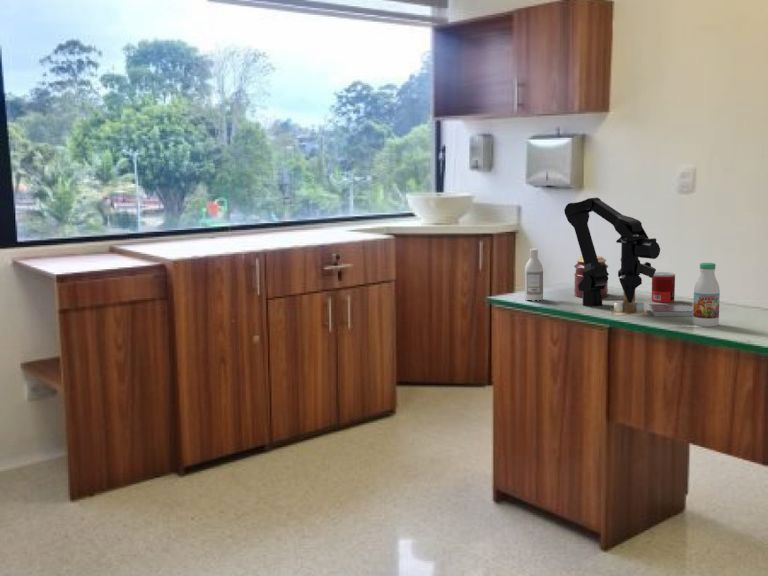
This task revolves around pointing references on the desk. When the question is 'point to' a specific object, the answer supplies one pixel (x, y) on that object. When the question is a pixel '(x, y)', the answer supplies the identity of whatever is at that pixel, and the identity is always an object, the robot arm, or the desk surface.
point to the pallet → (628, 307)
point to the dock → (671, 309)
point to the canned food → (663, 287)
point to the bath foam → (534, 277)
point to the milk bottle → (706, 297)
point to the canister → (579, 278)
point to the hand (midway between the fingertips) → (629, 300)
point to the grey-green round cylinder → (639, 307)
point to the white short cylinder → (618, 307)
